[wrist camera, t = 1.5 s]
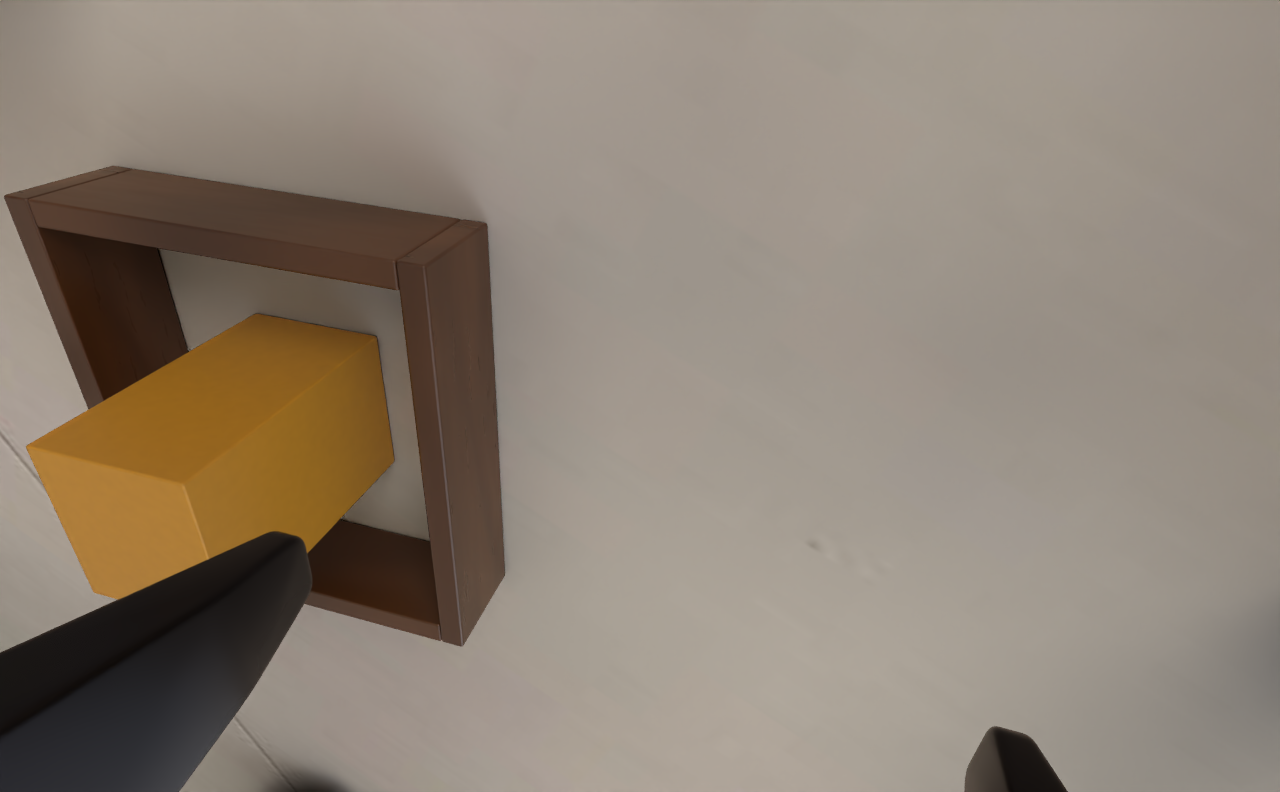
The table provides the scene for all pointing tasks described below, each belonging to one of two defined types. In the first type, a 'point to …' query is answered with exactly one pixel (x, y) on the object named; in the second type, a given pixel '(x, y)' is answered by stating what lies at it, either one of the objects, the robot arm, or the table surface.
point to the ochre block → (219, 451)
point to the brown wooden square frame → (326, 247)
